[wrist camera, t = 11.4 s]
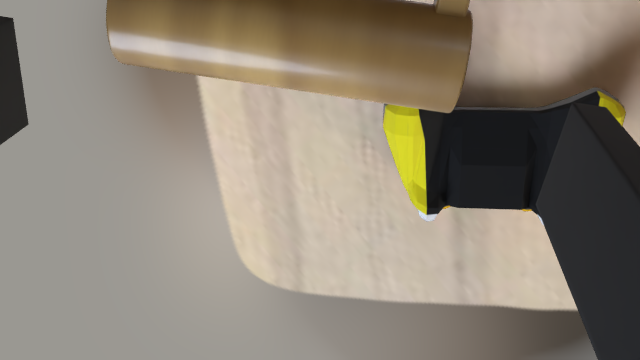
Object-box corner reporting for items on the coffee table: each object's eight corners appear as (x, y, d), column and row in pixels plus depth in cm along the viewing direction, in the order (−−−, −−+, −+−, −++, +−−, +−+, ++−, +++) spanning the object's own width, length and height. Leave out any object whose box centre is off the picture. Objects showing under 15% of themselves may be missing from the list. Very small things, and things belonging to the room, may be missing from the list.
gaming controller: (384, 68, 40) (381, 193, 45) (383, 95, 36) (380, 232, 40) (610, 69, 39) (583, 199, 43) (641, 98, 34) (606, 240, 39)
